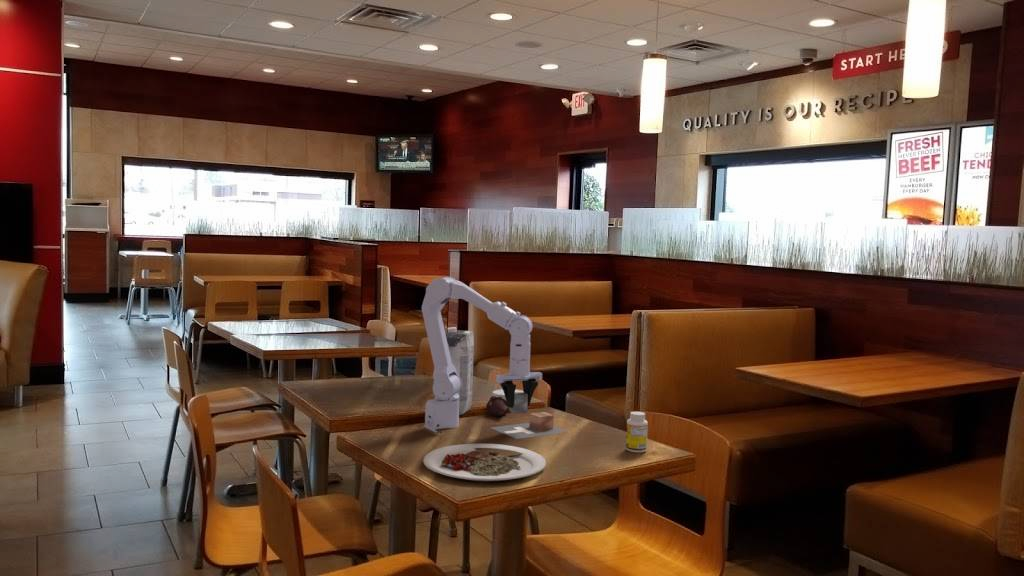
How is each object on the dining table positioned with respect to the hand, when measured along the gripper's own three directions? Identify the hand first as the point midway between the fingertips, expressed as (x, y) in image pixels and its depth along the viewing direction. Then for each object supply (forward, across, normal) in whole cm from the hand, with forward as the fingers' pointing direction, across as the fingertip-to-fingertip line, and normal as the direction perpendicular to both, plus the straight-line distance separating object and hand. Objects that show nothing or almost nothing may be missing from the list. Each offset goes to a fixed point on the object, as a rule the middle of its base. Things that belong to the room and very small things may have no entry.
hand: (518, 406), depth 224 cm
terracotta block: (+7, +8, 0) cm, 11 cm away
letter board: (+8, +4, 0) cm, 9 cm away
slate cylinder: (+2, 0, 0) cm, 2 cm away
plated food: (+9, -24, -22) cm, 34 cm away
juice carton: (+8, -2, +33) cm, 34 cm away
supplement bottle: (+8, +20, -28) cm, 35 cm away
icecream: (+8, +6, +20) cm, 23 cm away
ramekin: (+9, +17, +31) cm, 36 cm away
